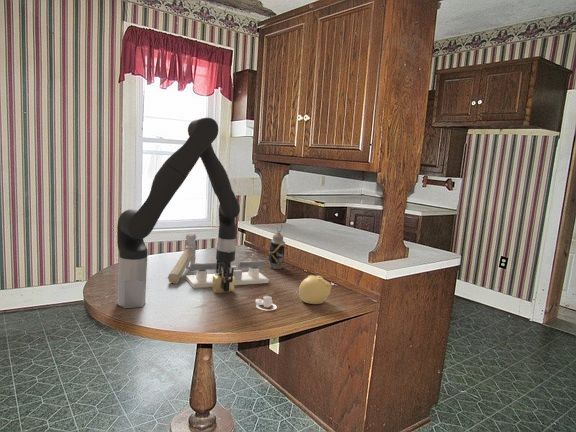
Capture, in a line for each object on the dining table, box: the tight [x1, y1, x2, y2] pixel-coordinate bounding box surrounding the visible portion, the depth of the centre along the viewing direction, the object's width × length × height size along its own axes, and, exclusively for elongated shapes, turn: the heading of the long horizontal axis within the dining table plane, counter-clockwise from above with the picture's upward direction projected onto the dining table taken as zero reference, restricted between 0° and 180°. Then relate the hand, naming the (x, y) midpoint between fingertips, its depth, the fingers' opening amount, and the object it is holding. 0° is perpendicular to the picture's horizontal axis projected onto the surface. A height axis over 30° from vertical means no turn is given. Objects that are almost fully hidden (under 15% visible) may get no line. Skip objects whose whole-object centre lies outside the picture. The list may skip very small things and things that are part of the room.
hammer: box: [167, 232, 197, 285], centre depth 183 cm, size 16×5×30 cm
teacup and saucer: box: [254, 295, 278, 312], centre depth 155 cm, size 9×8×4 cm
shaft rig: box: [185, 260, 270, 289], centre depth 180 cm, size 12×34×8 cm, turn 118°
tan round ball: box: [298, 274, 332, 305], centre depth 164 cm, size 11×12×11 cm
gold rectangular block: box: [211, 275, 235, 294], centre depth 167 cm, size 4×8×6 cm, turn 118°
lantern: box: [267, 218, 287, 270], centre depth 207 cm, size 9×8×25 cm
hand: (223, 288), depth 168 cm, fingers open, 7 cm apart
